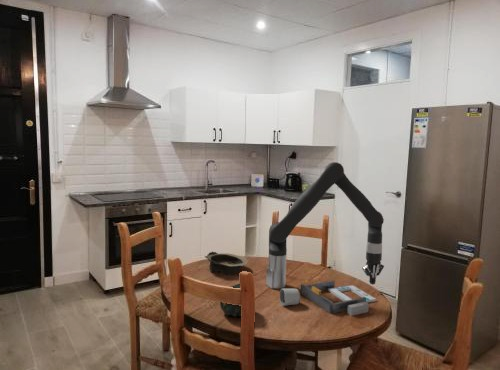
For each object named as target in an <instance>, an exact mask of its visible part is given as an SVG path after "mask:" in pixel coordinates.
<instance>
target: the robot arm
mask: <svg viewBox="0 0 500 370" xmlns="http://www.w3.org/2000/svg"><path fill="white" fill-rule="evenodd" d="M333 185H336V186H337V187H338V188H339V189H340V190H341V192H342V193H344V195H345V196H346V197H347V198H348V200H350V202H351V203H352V204H353V206H354V207H355V208H356V209H357V210H358V211H359V213H360V214H362V216H363V217H364V218H365V220H366V221H367V227H368V228H367V229H368V230H367V242H366V251H365V252H366V253H365V260H366V263H365V266H363V267H362V270H363V272H364V273H365V275H366V276H367V277H369V280H368V281H369V283H370V284H371V285H375V284H376V281H377V276H380V275H381V274H382V273H381V272H382V271H383V269H384V267H385V265H383V264H382V257H383V255H382V254H383V232H382V231H383V230H382V228H383V225H384V220H385V219H384V216H383V213H381V212H380V211H378V210H377V209H376V208H375V206H373V204H372V203H371V201H370V200H369V199H368V198H367V196H366V195H365V194H364V193H363V192H362V191H361V190H360V189H359V188H357V186H355V184H354V183H353V182H351V181H350V179H349V178H348V177H347V175H346V174H345V170H344V166H343V165H342V164H341V163H339V162H336V161H333V162H330V163H328V164H327V165H326V166H325V168H324V171H323V172H322V173H321V174H320V176H319V177H318V178H317V179H316V180H315V181H314V182H313V183H312V184H311V185H309V186H308V187H307V188H306V189H305V190H304V191H303V192H302V193H301V194H299V196H298V198H296V199H295V201H294V202H293V204H292V205H291V207H290V209H288V212H287V213H286V215H284V217H283V218H282V219H281V220H280V221H277V222H274V223H272V224H271V225H270V227H269V230H268V266H267V267H266V276H265V277H266V278H265V279H266V281H265V282H266V283H265V284H266V286H268V287H269V288H270V289H285V287H286V277H287V250H288V249H287V239H288V237H289V236H290V234H291V233H292V232H293V230H294V229H295V228H296V226H297V225H298V224H299V223H300V222H302V221H303V219H304V218H305V217H306V216H307V215H308V214H310V212H311V211H312V210H314V208H315V207H316V206H317V204H319V202H321V200H322V198H323V197H324V196H325V194H326V192H328V190H330V188H332V187H333Z"/></svg>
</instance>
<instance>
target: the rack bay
mask: <svg viewBox="0 0 500 370" xmlns="http://www.w3.org/2000/svg"><path fill="white" fill-rule="evenodd" d="M335 283H336V282H335V280H333V279H332V280H329V281H328V280H327V281H321V282H316V283H309V284H304V283H301V284H300V295H302V296H304V297H305V298H306V299H308V300H309V301H312V302H313V303H314V304H316V305H318V306H319V307H320V308H322V309H323V310H325V311H326V312H328V313H330V314H336V313H341V312H347V311H348V305H352V304H357V303H361V302H366V298H365V297H357V298H354V299H352V298H351V299H352V300H347V301H343V300H342V301H337V302H333V301H332V300H330V299H328V298H327V297H325V296H324V295H322V291H328V289H329V288H335Z"/></svg>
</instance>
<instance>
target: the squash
mask: <svg viewBox="0 0 500 370" xmlns="http://www.w3.org/2000/svg"><path fill="white" fill-rule="evenodd" d="M230 287H233V288H240V283H237V284H234V285H231V286H230ZM219 303H220V304H219V305H220V309H221V310H222V312H224V314H225V315H226V316H228V315H232V317H239V316H240V315H241V306H239V305H232V304H227V303H222V302H219ZM237 315H238V316H237ZM240 317H241V316H240Z"/></svg>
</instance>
